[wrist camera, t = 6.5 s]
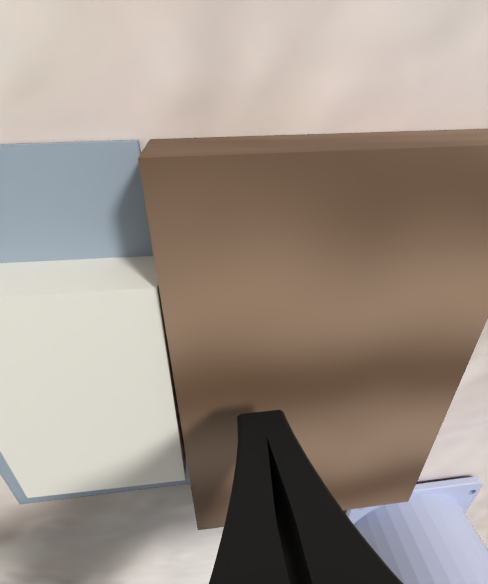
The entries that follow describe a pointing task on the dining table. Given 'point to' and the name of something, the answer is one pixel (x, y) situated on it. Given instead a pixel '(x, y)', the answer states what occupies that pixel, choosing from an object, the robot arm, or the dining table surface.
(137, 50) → the dining table surface
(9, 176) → the slate mat
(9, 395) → the cream block
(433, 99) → the dining table surface
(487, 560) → the robot arm
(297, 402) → the walnut board
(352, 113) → the dining table surface
